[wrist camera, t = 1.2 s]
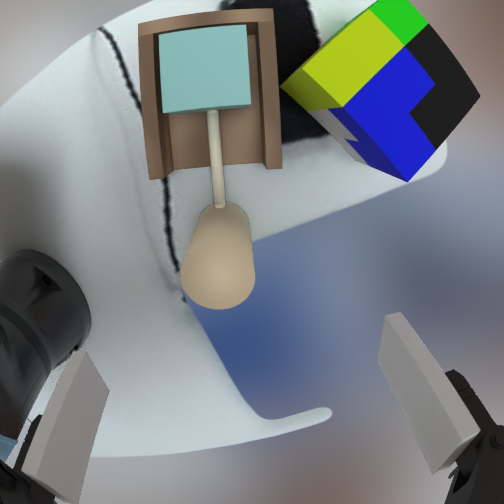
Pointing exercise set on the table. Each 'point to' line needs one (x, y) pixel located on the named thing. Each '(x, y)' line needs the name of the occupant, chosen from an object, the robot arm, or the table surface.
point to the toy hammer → (212, 156)
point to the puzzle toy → (385, 88)
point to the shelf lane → (231, 120)
